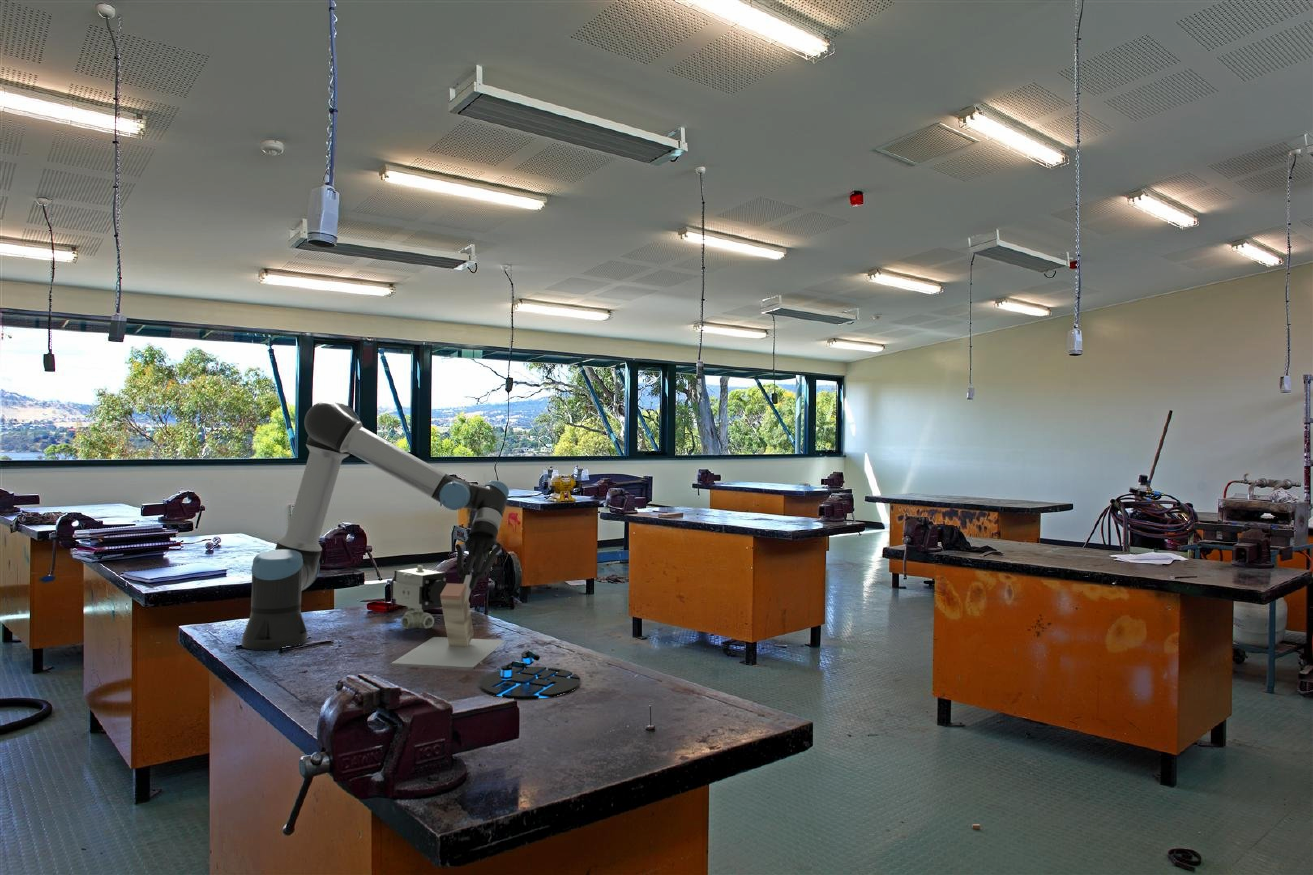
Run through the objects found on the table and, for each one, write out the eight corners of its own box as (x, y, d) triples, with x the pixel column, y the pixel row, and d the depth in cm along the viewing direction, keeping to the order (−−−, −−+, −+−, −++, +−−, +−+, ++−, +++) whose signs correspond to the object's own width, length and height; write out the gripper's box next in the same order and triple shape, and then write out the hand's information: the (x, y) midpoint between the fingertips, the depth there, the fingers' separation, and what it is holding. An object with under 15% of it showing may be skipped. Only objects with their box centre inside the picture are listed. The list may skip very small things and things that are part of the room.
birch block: (455, 633, 200) (446, 583, 194) (473, 634, 200) (465, 584, 193) (448, 646, 196) (440, 595, 189) (467, 646, 195) (459, 596, 189)
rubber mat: (433, 639, 205) (433, 636, 205) (505, 642, 203) (505, 640, 203) (390, 665, 179) (390, 662, 179) (473, 669, 177) (473, 667, 177)
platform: (596, 677, 175) (597, 649, 175) (551, 706, 154) (552, 674, 154) (512, 666, 182) (513, 639, 182) (459, 692, 161) (459, 661, 162)
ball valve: (384, 625, 219) (386, 564, 219) (409, 621, 226) (410, 561, 226) (424, 635, 209) (426, 570, 209) (449, 630, 215) (450, 567, 216)
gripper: (510, 537, 216) (490, 607, 199) (465, 535, 217) (442, 605, 200) (505, 520, 211) (485, 591, 194) (459, 518, 212) (435, 589, 195)
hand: (463, 598), depth 197 cm, fingers closed
